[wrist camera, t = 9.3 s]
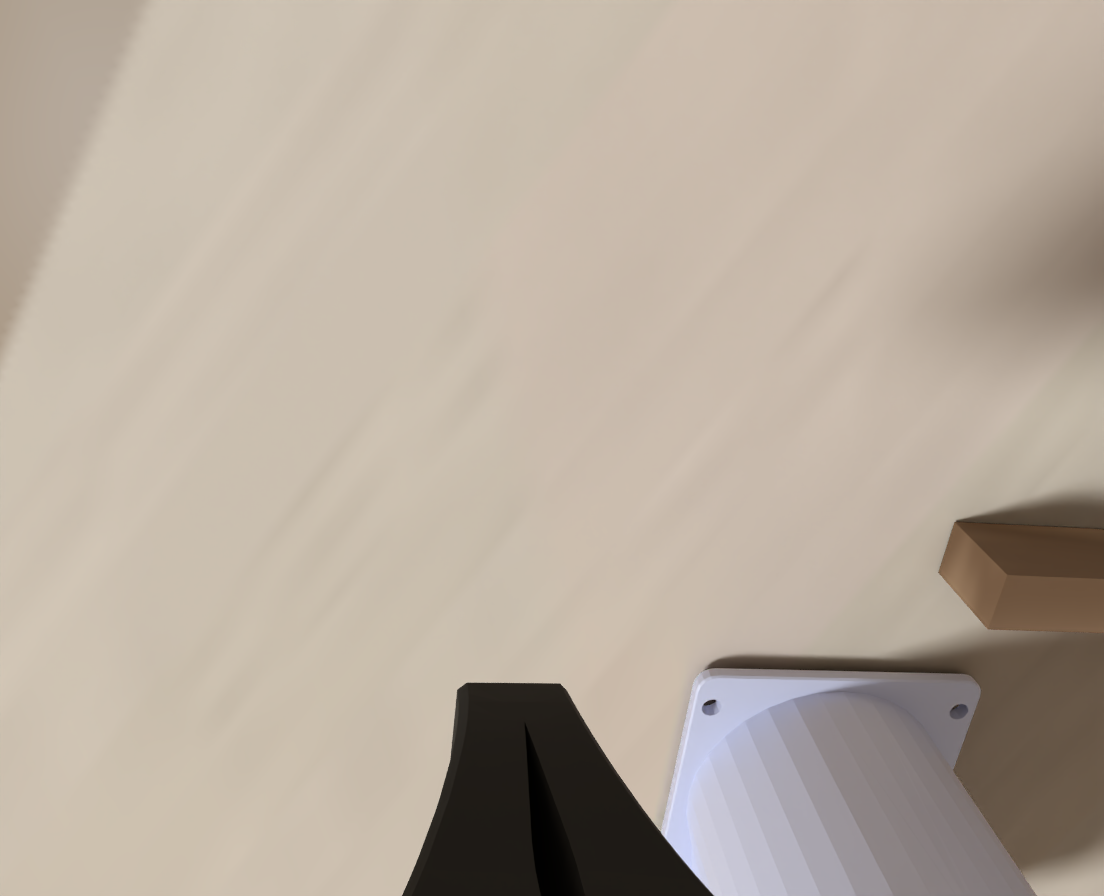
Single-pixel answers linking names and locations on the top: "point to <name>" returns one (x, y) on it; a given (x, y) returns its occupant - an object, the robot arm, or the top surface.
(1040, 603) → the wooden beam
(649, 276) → the top surface
